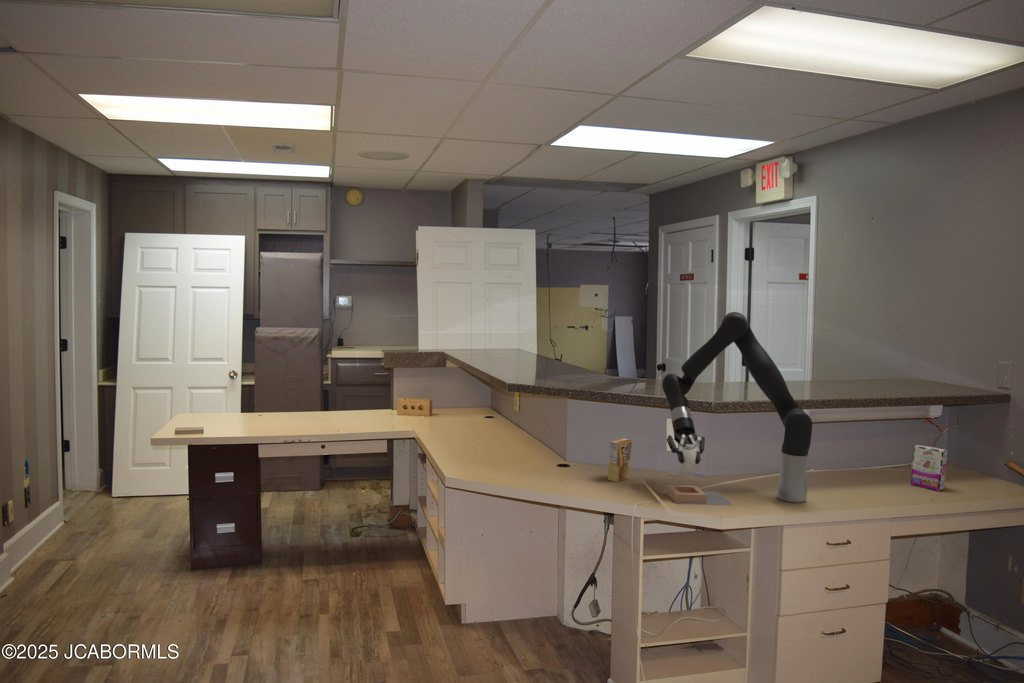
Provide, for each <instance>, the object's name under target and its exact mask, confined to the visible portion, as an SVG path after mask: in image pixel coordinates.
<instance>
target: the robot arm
mask: <svg viewBox="0 0 1024 683" xmlns="http://www.w3.org/2000/svg"><path fill="white" fill-rule="evenodd" d="M733 343H734V344H735V346H736V347H737V349H738V350H739V352H740V353H741V356H742V359H743V361H744V363H745V365H746V368H747V369H748V371H749V373H750V375H751V377H752V378H753V380H754V381H755V384H756V385H757V387H759V389H760V390H761V391H762V393H763V394H764V395H765V397H767V399H768V400H769V402H771V403H772V405H773V407H774V409H775V410H776V412H777V414H778V416H779V418H780V420H781V422H782V425H783V427H784V437H783V442H782V444H781V448H780V449H781V451H780V452H781V453H780V462H779V463H780V464H779V474H778V485H777V495H776V496H777V499H779V500H782V501H785V502H789V503H803V502H807V498H808V497H807V496H808V495H807V494H808V486H809V485H808V484H809V475H808V474H807V469H808V460H809V451H810V448H811V444H812V443H811V442H812V434H813V420H812V418H811V417H810V415H809V414H808V413H806V412H805V411H804V410H803V409H802V408H801V406H800V404H798V402H797V401H796V400H795V399H794V397H793V396H792V394H791V392H790V391H789V387H788V386H787V382H786V381H785V379H784V377H783V375H782V372H781V371H780V370H779V368H778V366H777V365H776V363H775V362H774V360H773V359H772V358H771V356H770V355H769V353H768V352H767V351H766V349H765V348H764V347H763V346H762V344H760V342H759V340H758V339H757V337H756V336H755V333H754V332H753V330H752V328H751V326H750V324H749V321H748V319H747V318H746V316H745V315H744V314H742V313H741V312H739V311H732V312H731V311H730V312H729V313H727V314H725V315H724V317H723V318H722V321H721V324H720V326H719V327H718V329H717V330H716V332H715V333H714V334H713V335H712V336H711V338H709V339H708V341H706V343H704V344H703V345H701V347H699V348H698V349H697V350H696V351H695V352H694V353H693V354H692V355H690V356H689V358H687V360H686V361H684V362H683V364H682V366H681V371H682V373H683V375H682V377H680V376H679V375H677V374H675V373H668V374H666V375H665V376H664V377H663V379H662V390H663V392H664V396H665V398H666V400H667V402H668V403H669V410H670V416H671V417H670V418H671V425H672V430H673V434H674V435H670V434H669V435H667V438H666V442H667V445H668V447H669V449H670V451H671V453H672V454H677V459H678V462H679V463H680V464H681V463H683V462H684V457H683V452H682V448H684V447H685V444H692V445H694V449H697V452H696V464H695V465H699V464H700V462H701V460H702V458H701V455H702V454H703V452H704V451H705V444H706V437H705V436H702V437H700V436H698V435H697V434H696V429H695V425H694V424H695V423H694V419H693V414H692V412H691V408H690V402H689V400H688V397H686V395H687V394H688V393H689V392H690V390H691V389H692V387H693V385H694V383H695V381H696V380H697V378H698V377H699V376H700V375H701V374H702V373H703V372H704V371H705V370H706V369H707V368H708V367H709V366H710V364H712V362H713V361H714V360H716V358H717V357H718V356H719V355H720V354H721V353H722V352H723V351H725V349H726V348H728V347H729V346H730V345H732V344H733ZM675 442H676V443H677V444H678V445H677V446H676V443H675ZM696 442H698V444H699V447H698V444H697V443H696Z"/></svg>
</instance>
